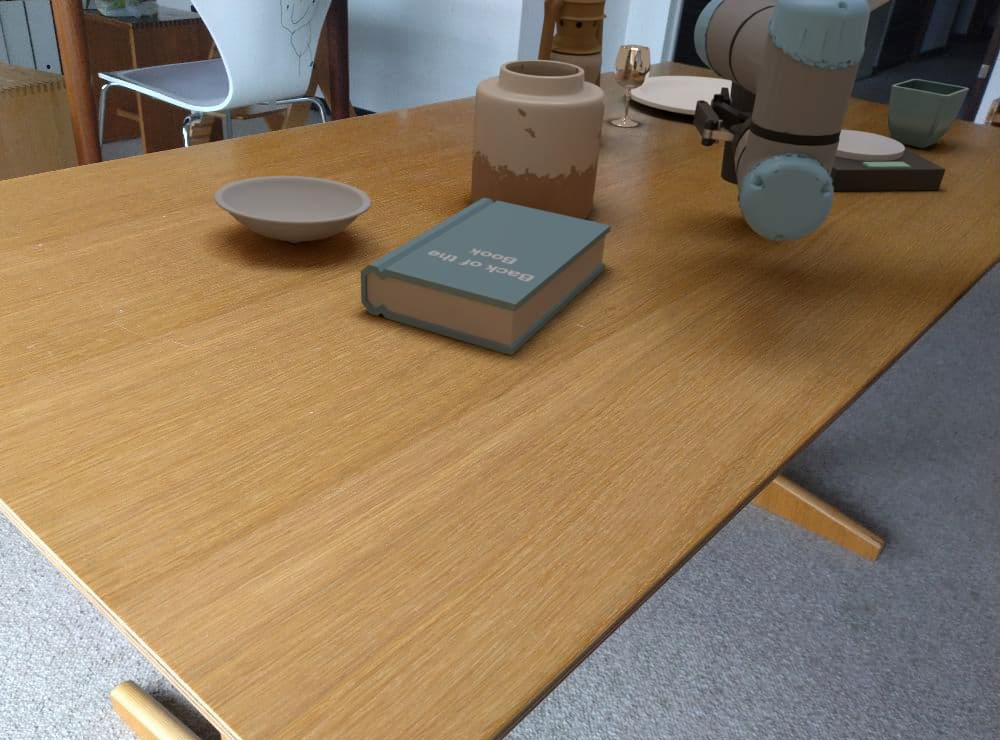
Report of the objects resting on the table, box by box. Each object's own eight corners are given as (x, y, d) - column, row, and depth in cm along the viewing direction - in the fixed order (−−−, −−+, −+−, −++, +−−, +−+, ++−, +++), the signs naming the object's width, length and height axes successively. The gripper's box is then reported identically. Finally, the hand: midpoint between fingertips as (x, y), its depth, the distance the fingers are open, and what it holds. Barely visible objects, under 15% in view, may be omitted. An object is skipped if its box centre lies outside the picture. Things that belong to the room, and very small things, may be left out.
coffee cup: (785, 172, 109) (817, 43, 101) (792, 196, 101) (827, 58, 93) (707, 163, 111) (732, 36, 103) (708, 186, 103) (735, 50, 95)
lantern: (552, 126, 144) (571, -83, 128) (612, 136, 140) (640, -78, 124) (512, 147, 133) (528, -79, 116) (576, 159, 128) (601, -73, 112)
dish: (190, 249, 95) (184, 204, 93) (261, 208, 107) (258, 167, 104) (335, 278, 90) (333, 232, 88) (393, 232, 102) (393, 190, 99)
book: (511, 355, 78) (515, 304, 75) (361, 310, 84) (360, 262, 81) (604, 269, 95) (610, 225, 92) (474, 237, 101) (476, 195, 98)
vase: (450, 214, 107) (454, 71, 98) (499, 180, 119) (507, 49, 110) (567, 238, 102) (584, 89, 93) (607, 200, 114) (624, 64, 105)
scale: (938, 190, 122) (948, 161, 120) (831, 191, 120) (839, 162, 118) (871, 152, 137) (879, 126, 135) (775, 152, 135) (781, 126, 133)
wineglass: (614, 128, 144) (624, 51, 138) (602, 119, 149) (611, 44, 142) (647, 127, 145) (658, 50, 139) (634, 118, 150) (644, 44, 144)
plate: (808, 109, 160) (811, 96, 159) (733, 136, 143) (736, 121, 141) (676, 81, 176) (678, 69, 175) (593, 102, 159) (595, 89, 157)
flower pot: (874, 141, 143) (891, 84, 138) (898, 133, 148) (914, 77, 143) (928, 154, 137) (947, 95, 133) (951, 145, 143) (970, 88, 138)
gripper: (661, 181, 90) (667, 126, 109) (873, 202, 87) (841, 141, 106) (673, 107, 86) (676, 62, 105) (895, 125, 83) (858, 76, 102)
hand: (759, 102), depth 106 cm, fingers closed on coffee cup, 8 cm apart
